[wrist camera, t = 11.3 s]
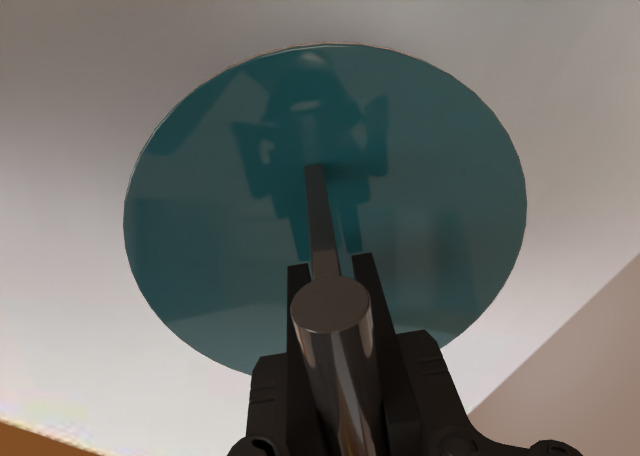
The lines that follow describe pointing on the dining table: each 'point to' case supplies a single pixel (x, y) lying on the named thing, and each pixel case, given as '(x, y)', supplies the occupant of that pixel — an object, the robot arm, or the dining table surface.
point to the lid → (324, 216)
